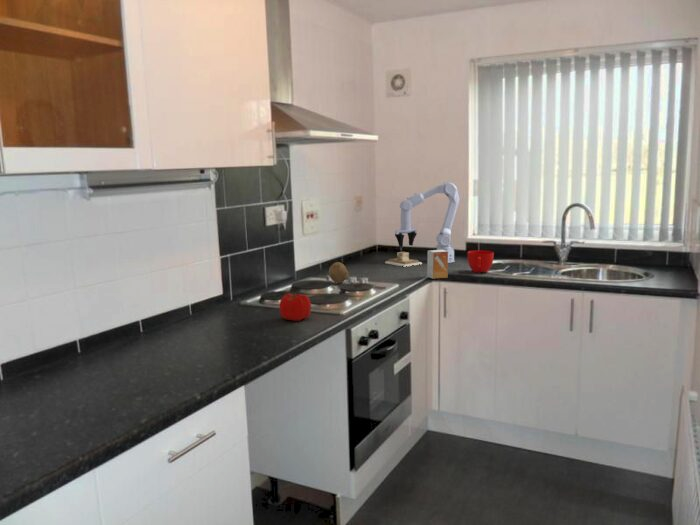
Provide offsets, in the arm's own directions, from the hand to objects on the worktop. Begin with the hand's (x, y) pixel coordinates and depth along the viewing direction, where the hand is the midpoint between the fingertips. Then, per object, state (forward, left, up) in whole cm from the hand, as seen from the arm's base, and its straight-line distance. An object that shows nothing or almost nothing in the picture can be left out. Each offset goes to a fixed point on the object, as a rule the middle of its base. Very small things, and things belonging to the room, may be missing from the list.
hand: (405, 246), depth 321 cm
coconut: (-22, +63, -10) cm, 67 cm away
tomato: (-64, +112, -10) cm, 129 cm away
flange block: (-2, +4, -8) cm, 9 cm away
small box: (-42, +18, -10) cm, 47 cm away
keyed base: (-2, +4, -9) cm, 10 cm away
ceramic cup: (-47, -7, -10) cm, 48 cm away
